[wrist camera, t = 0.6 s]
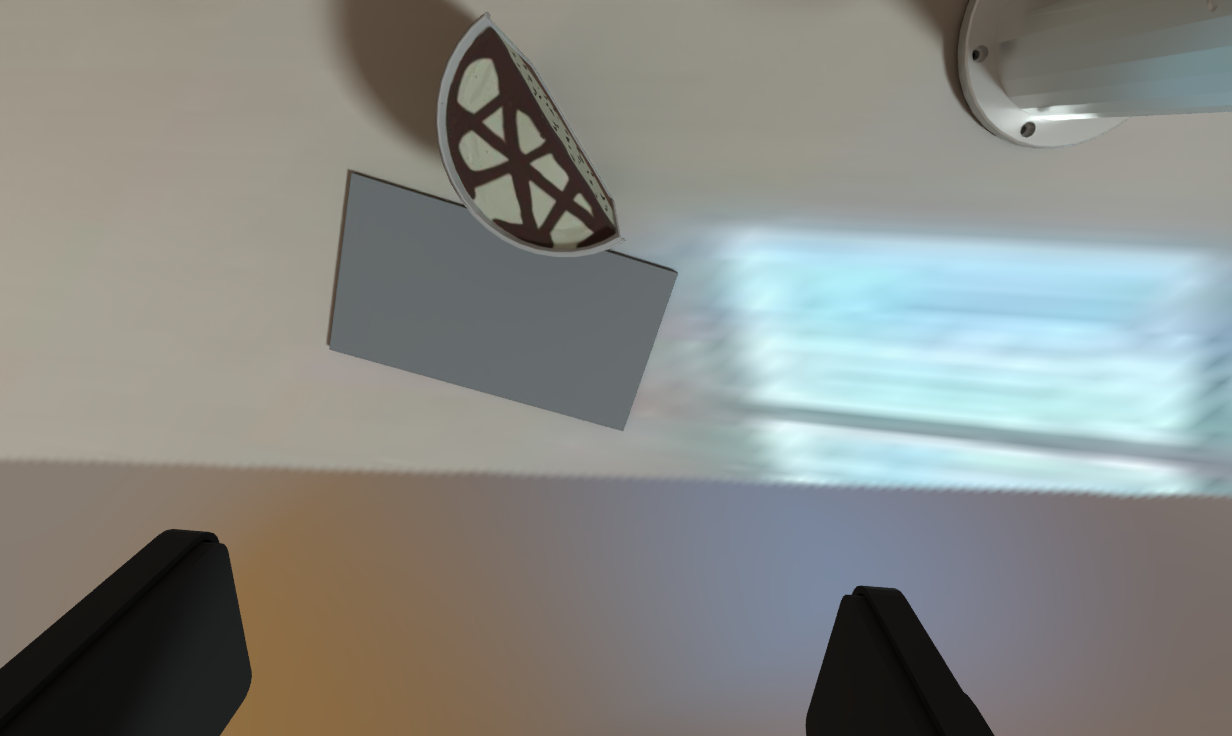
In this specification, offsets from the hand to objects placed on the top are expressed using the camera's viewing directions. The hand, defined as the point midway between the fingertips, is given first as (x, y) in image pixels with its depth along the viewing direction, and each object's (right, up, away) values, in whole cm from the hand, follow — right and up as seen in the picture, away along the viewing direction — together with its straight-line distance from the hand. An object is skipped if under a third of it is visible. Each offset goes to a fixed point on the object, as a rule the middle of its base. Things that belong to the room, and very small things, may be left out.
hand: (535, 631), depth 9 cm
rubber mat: (-7, +8, +31) cm, 33 cm away
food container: (-4, +17, +28) cm, 33 cm away
